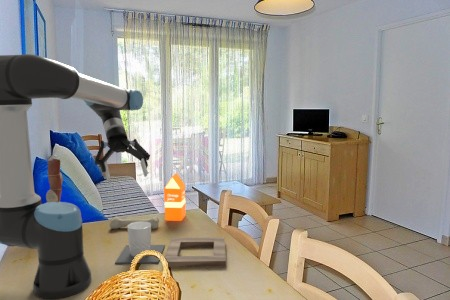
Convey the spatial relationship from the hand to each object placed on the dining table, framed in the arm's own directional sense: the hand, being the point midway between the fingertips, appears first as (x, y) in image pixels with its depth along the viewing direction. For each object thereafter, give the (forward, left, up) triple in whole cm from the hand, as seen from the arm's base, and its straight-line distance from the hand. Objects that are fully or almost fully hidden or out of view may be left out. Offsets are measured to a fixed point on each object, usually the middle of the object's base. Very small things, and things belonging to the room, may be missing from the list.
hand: (128, 176), depth 126 cm
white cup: (-9, -6, -25) cm, 27 cm away
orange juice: (+31, -13, -26) cm, 42 cm away
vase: (+16, +34, -26) cm, 46 cm away
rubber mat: (-9, -6, -26) cm, 28 cm away
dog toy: (+18, +3, -26) cm, 32 cm away
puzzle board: (-9, -25, -26) cm, 37 cm away
